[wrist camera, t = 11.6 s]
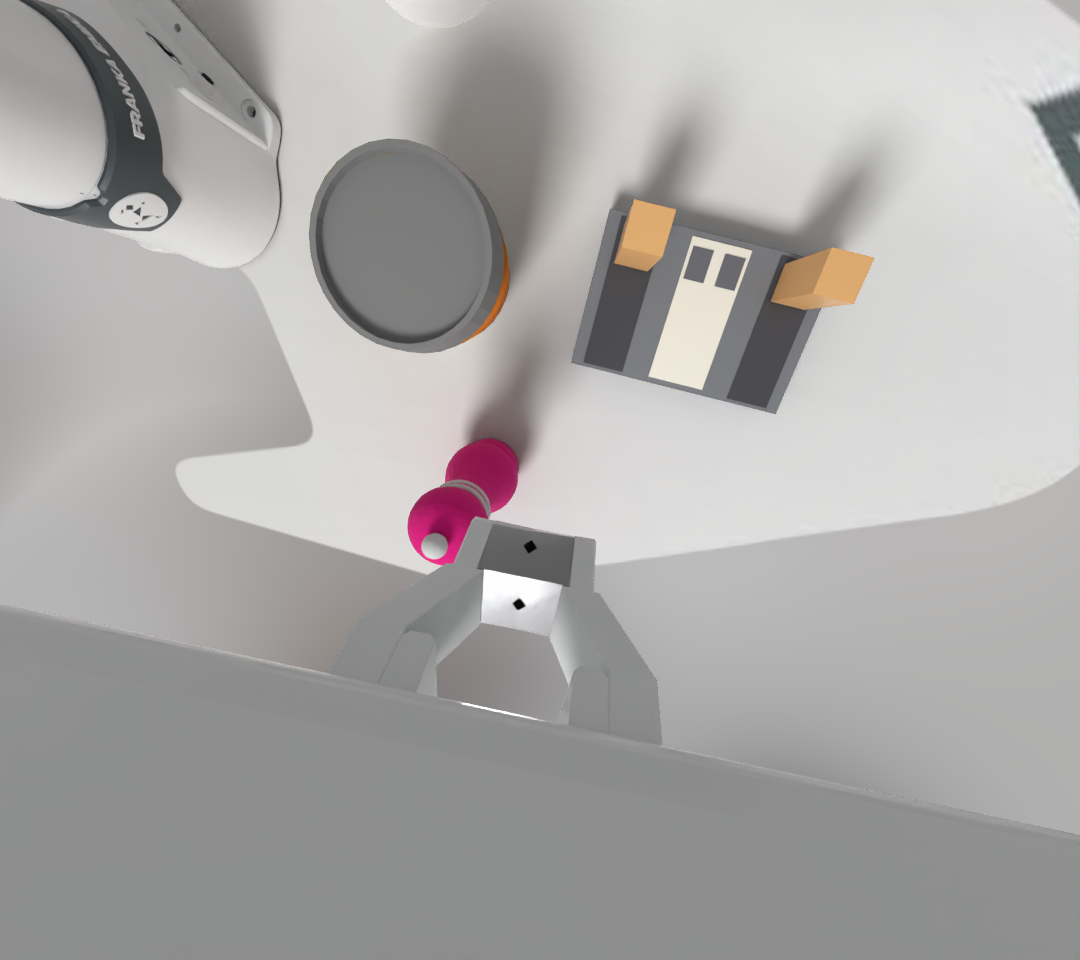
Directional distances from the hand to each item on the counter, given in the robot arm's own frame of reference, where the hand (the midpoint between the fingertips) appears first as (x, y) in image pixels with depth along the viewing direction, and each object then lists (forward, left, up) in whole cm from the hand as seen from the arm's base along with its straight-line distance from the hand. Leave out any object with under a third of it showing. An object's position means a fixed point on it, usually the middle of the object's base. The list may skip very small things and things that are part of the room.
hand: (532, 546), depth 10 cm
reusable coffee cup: (-14, -4, -35) cm, 38 cm away
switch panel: (0, +13, -35) cm, 37 cm away
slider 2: (+2, +21, -32) cm, 38 cm away
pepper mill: (+3, -12, -35) cm, 37 cm away
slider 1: (-7, +11, -32) cm, 35 cm away
